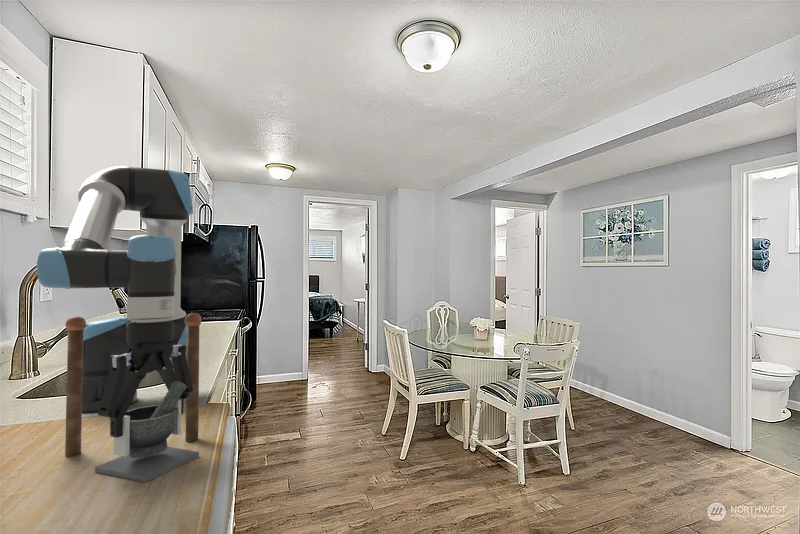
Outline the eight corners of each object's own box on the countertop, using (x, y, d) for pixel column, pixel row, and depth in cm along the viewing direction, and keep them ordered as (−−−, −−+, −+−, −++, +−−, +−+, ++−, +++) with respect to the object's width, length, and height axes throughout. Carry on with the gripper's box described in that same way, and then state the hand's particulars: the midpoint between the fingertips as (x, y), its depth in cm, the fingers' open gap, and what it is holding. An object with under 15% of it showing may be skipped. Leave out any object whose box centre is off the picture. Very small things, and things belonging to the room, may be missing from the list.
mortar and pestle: (114, 467, 69) (115, 394, 70) (115, 448, 77) (116, 383, 78) (189, 451, 76) (189, 384, 76) (183, 435, 83) (184, 374, 84)
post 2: (192, 436, 89) (193, 312, 90) (203, 438, 88) (205, 312, 89) (179, 441, 86) (181, 313, 87) (191, 443, 85) (193, 313, 86)
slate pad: (151, 448, 83) (151, 444, 83) (198, 456, 79) (198, 451, 79) (95, 471, 73) (95, 467, 73) (145, 482, 68) (145, 477, 68)
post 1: (76, 449, 82) (79, 315, 83) (87, 451, 81) (90, 315, 82) (58, 456, 79) (61, 316, 80) (69, 458, 78) (72, 316, 79)
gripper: (104, 326, 65) (101, 473, 64) (213, 315, 86) (212, 425, 85) (71, 325, 67) (68, 466, 67) (185, 315, 89) (184, 421, 88)
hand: (149, 443), depth 76 cm, fingers closed on mortar and pestle, 10 cm apart
